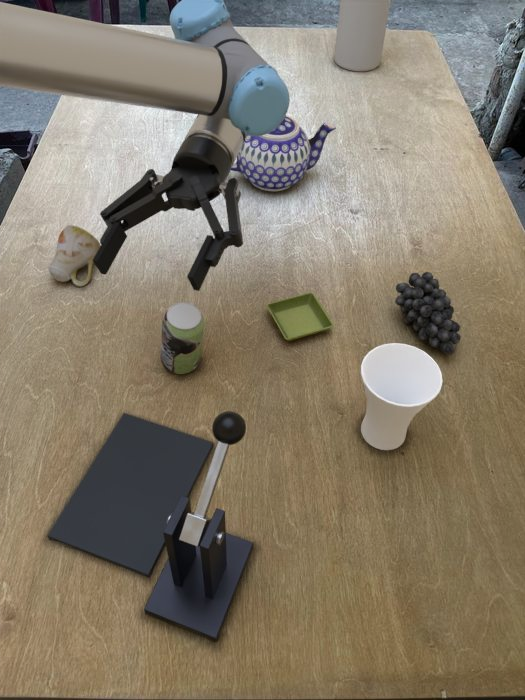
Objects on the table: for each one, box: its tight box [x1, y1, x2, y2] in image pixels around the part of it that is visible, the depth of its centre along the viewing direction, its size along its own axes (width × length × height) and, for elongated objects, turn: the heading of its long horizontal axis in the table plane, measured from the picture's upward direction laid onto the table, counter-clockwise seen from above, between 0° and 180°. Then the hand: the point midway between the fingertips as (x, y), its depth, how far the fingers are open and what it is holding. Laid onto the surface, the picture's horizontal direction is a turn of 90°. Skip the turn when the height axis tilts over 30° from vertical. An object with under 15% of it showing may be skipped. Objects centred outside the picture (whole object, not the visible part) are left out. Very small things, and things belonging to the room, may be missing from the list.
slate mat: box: [46, 412, 214, 578], centre depth 83 cm, size 14×20×1 cm
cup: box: [360, 342, 443, 451], centre depth 85 cm, size 10×10×14 cm
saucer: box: [265, 291, 335, 342], centre depth 103 cm, size 9×9×2 cm
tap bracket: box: [143, 495, 254, 643], centre depth 70 cm, size 12×9×16 cm
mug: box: [48, 224, 101, 287], centre depth 109 cm, size 8×10×10 cm
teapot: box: [230, 114, 337, 192], centre depth 126 cm, size 25×15×15 cm, turn 98°
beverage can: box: [160, 301, 206, 375], centre depth 93 cm, size 6×7×12 cm
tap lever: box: [179, 410, 247, 547], centre depth 66 cm, size 14×4×4 cm, turn 160°
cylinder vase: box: [333, 0, 392, 72], centre depth 158 cm, size 12×12×25 cm
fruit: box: [394, 271, 461, 356], centre depth 101 cm, size 9×8×15 cm
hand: (144, 275), depth 78 cm, fingers open, 13 cm apart
